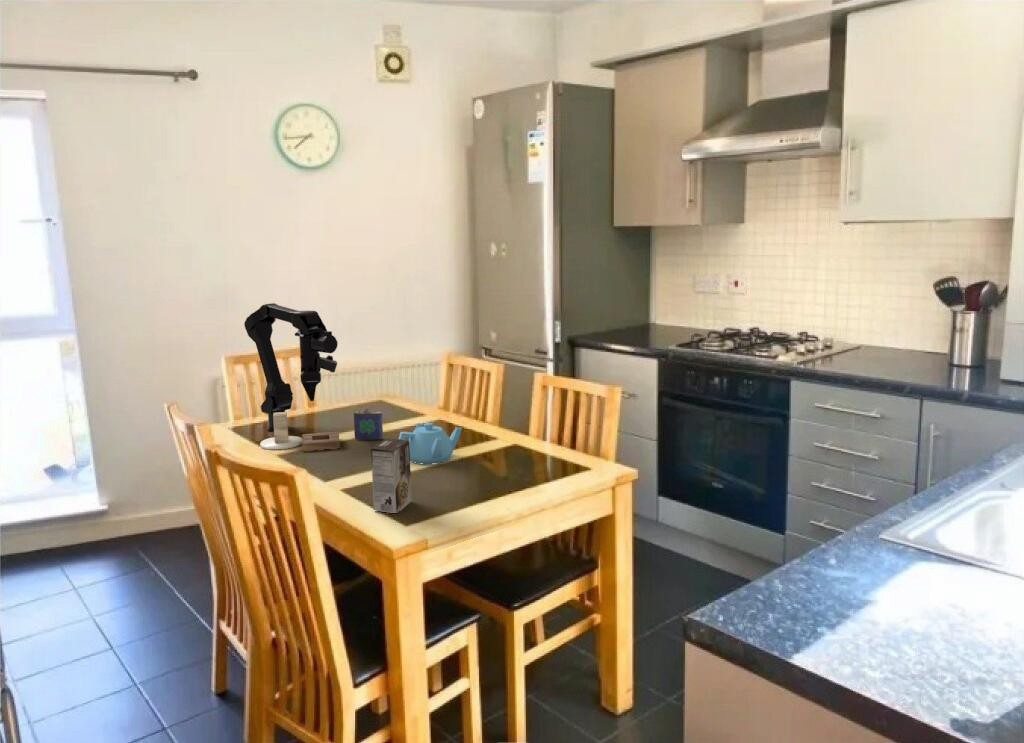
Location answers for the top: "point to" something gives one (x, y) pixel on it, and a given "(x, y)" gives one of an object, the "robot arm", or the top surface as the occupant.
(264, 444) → the plate
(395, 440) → the coffee box
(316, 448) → the holder
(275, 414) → the block
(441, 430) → the teapot
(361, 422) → the flask
